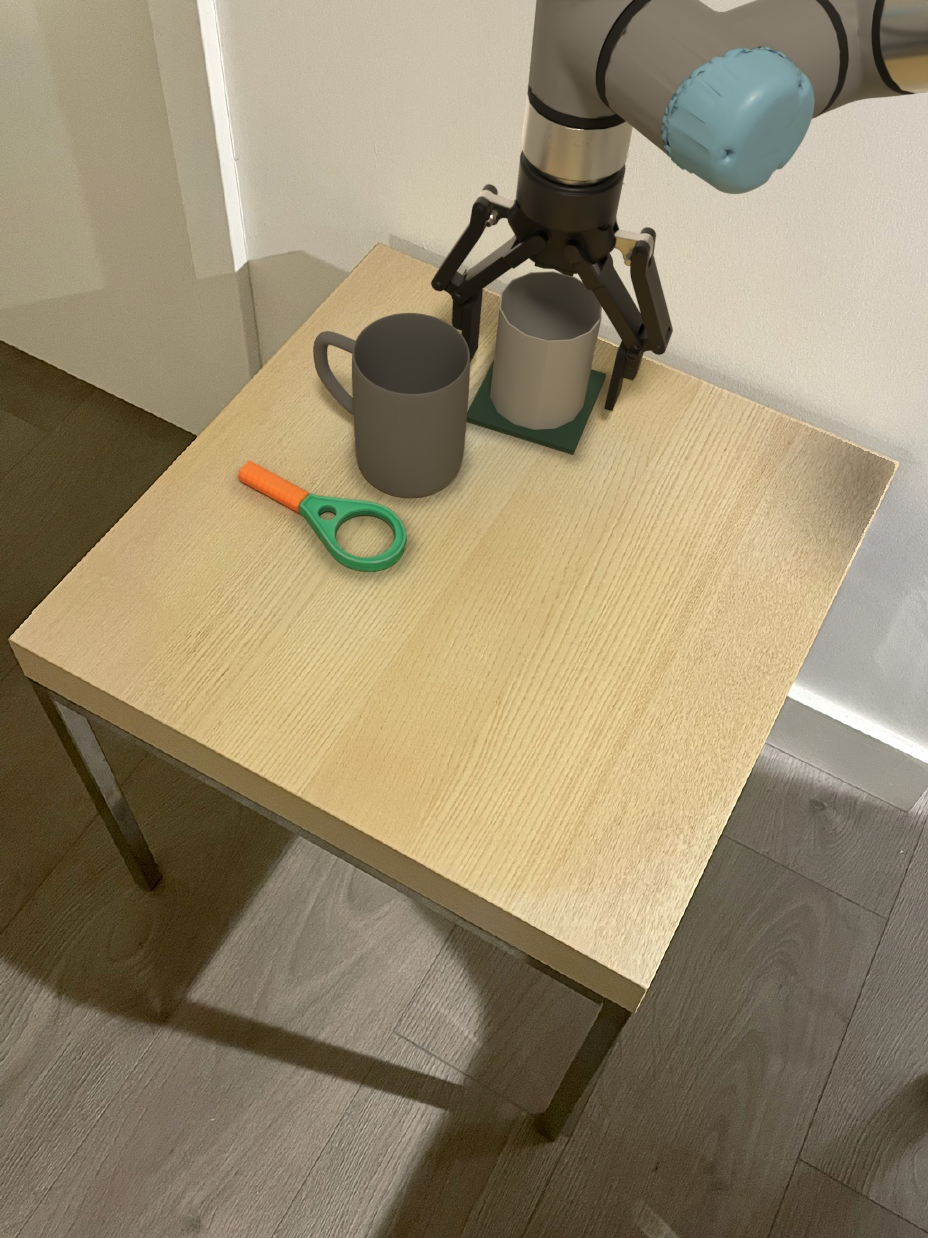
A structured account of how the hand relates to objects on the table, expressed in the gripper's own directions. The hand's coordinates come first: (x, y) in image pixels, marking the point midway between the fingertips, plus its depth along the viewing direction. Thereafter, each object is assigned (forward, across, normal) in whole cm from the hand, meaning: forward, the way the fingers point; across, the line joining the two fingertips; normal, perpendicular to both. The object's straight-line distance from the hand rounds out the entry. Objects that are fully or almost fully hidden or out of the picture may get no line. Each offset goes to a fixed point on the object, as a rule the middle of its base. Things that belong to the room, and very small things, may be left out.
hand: (539, 378), depth 93 cm
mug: (+3, +10, +10) cm, 15 cm away
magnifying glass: (+3, +12, +20) cm, 23 cm away
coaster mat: (+3, 0, 0) cm, 3 cm away
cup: (+2, 0, 0) cm, 2 cm away
